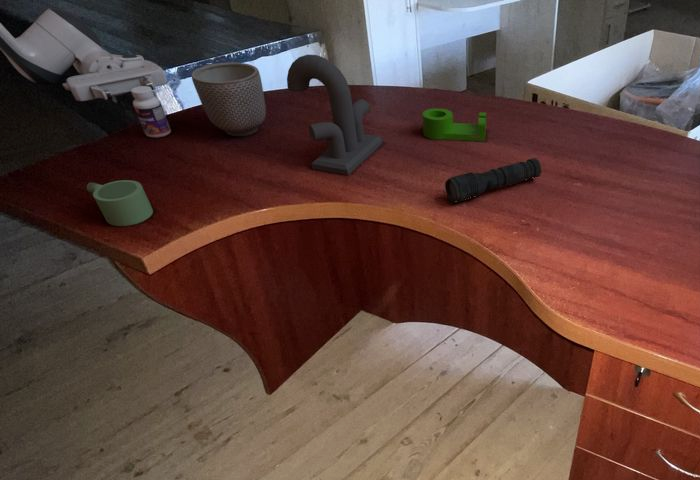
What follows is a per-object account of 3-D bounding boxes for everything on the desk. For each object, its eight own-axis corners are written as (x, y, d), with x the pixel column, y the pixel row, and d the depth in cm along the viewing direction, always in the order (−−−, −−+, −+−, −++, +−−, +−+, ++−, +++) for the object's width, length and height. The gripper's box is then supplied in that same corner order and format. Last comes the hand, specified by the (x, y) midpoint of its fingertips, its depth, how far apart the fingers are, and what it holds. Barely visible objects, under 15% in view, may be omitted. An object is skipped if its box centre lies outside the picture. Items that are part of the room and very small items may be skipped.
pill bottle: (140, 136, 122) (121, 91, 115) (156, 127, 126) (139, 83, 119) (161, 139, 121) (143, 94, 115) (176, 130, 125) (160, 86, 118)
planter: (216, 120, 130) (197, 62, 121) (276, 118, 133) (262, 61, 124) (205, 144, 121) (184, 83, 112) (270, 141, 123) (254, 82, 114)
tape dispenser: (421, 138, 128) (420, 119, 125) (425, 126, 133) (424, 107, 130) (484, 141, 128) (485, 122, 125) (485, 129, 133) (486, 110, 130)
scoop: (162, 211, 100) (151, 185, 96) (126, 230, 95) (113, 204, 91) (116, 195, 103) (104, 170, 100) (79, 213, 98) (65, 187, 95)
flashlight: (444, 197, 108) (443, 173, 105) (527, 174, 117) (529, 152, 114) (457, 208, 105) (456, 184, 102) (541, 183, 114) (543, 161, 111)
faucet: (323, 131, 128) (305, 38, 114) (383, 142, 125) (373, 48, 112) (280, 163, 115) (255, 63, 102) (347, 176, 113) (330, 74, 99)
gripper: (53, 69, 123) (72, 86, 116) (147, 53, 134) (169, 68, 127) (67, 98, 127) (86, 115, 121) (157, 80, 138) (179, 95, 132)
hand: (129, 91), depth 124 cm, fingers open, 8 cm apart
